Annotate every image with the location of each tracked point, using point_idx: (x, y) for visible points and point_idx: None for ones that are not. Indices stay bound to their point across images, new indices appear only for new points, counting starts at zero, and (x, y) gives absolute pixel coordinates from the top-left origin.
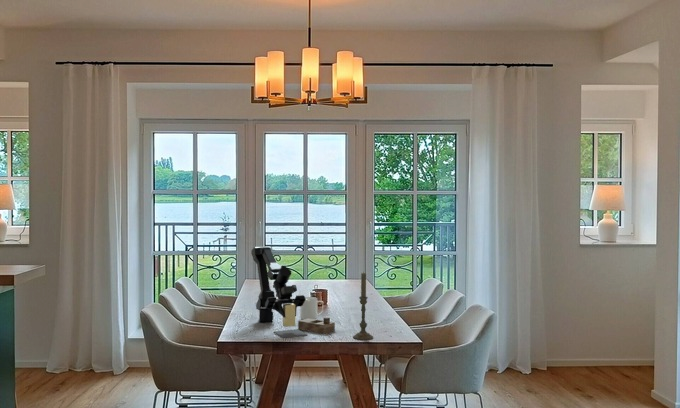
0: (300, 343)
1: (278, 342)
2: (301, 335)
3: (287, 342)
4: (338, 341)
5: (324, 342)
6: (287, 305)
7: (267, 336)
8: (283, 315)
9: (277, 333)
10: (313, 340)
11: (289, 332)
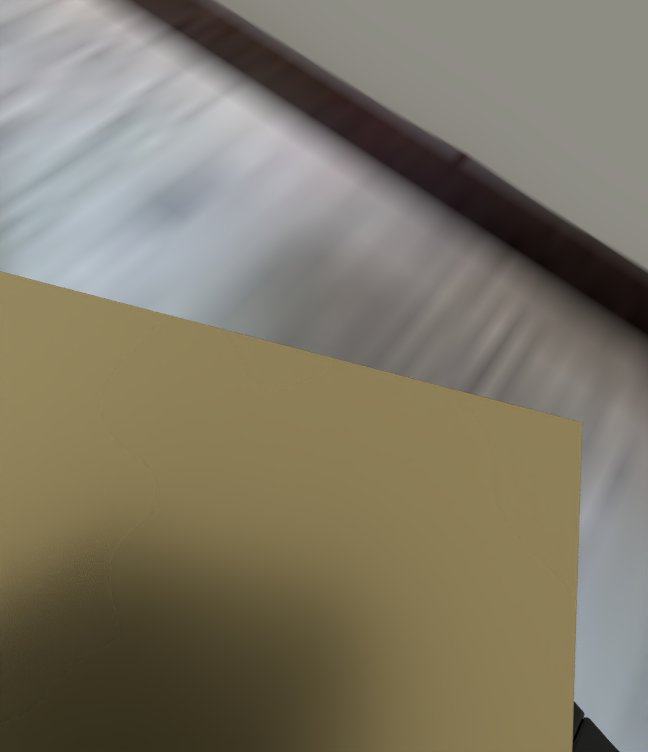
0: (444, 149)
1: (628, 305)
2: None
3: (539, 248)
4: (100, 3)
5: (230, 50)
6: (425, 395)
7: (641, 687)
8: None
9: None
10: (255, 148)
11: None
